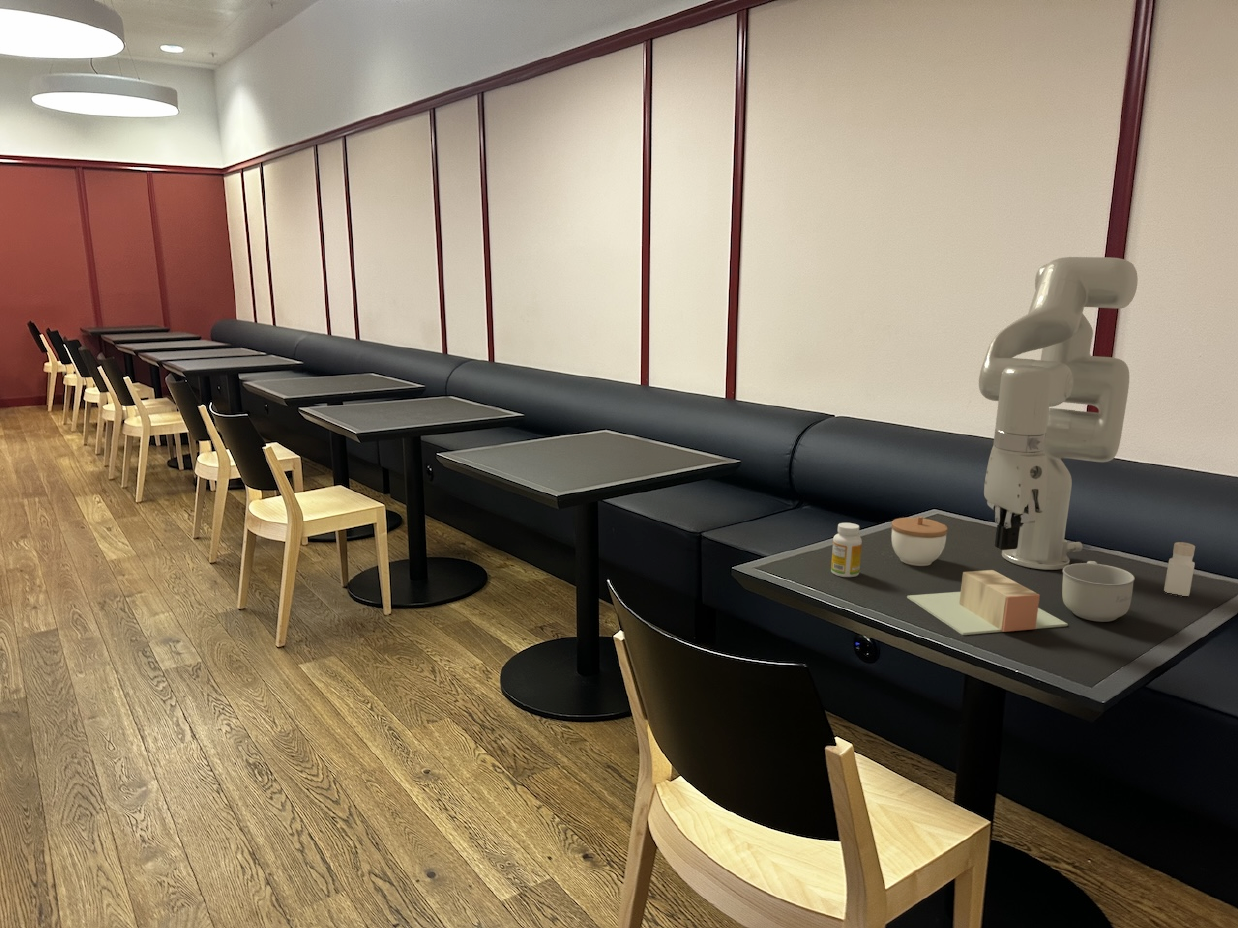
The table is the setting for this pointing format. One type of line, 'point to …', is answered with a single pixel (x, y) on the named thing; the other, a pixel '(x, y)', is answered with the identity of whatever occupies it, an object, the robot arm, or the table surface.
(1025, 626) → the maple block
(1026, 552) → the robot arm
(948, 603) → the sage mat
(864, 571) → the table surface
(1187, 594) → the pepper shaker
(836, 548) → the supplement bottle
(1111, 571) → the teacup
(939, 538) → the lidded jar
